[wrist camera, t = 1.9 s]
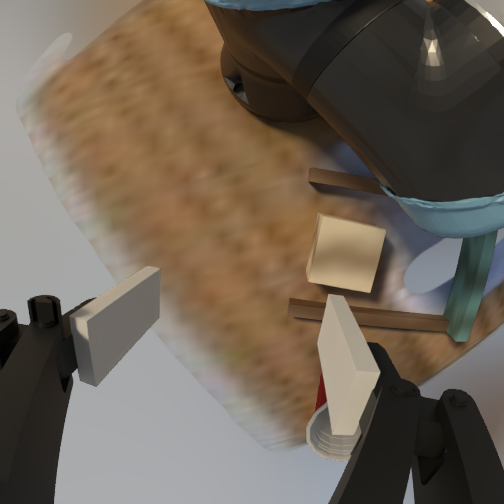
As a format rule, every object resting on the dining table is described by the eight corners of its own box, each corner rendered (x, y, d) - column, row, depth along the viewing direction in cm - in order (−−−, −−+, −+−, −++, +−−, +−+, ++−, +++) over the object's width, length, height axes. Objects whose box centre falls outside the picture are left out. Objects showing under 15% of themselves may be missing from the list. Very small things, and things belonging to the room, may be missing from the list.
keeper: (318, 212, 34) (323, 216, 30) (374, 224, 34) (386, 230, 30) (305, 270, 36) (308, 281, 32) (360, 280, 36) (370, 292, 31)
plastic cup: (373, 329, 36) (402, 381, 25) (381, 389, 38) (403, 445, 27) (293, 351, 38) (295, 410, 26) (310, 408, 40) (315, 469, 28)
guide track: (309, 168, 33) (314, 165, 28) (479, 207, 31) (500, 210, 27) (287, 309, 37) (288, 327, 32) (450, 326, 35) (466, 341, 30)
